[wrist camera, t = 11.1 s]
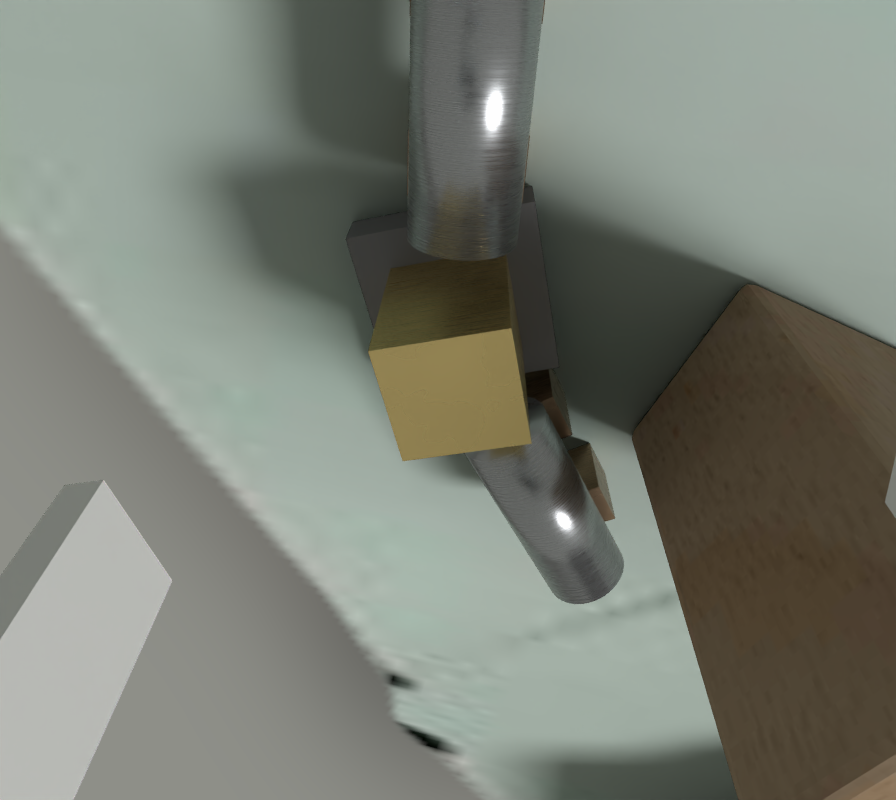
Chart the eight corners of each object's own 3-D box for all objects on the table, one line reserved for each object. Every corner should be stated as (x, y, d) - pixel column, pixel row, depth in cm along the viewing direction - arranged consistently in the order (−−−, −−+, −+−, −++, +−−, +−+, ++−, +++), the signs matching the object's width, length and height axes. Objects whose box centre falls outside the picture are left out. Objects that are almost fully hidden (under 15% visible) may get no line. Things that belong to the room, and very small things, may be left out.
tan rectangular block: (417, 365, 32) (402, 461, 26) (390, 268, 29) (368, 351, 24) (522, 349, 31) (531, 443, 26) (505, 248, 29) (511, 328, 23)
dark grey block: (352, 221, 30) (345, 238, 29) (532, 186, 29) (534, 201, 27) (398, 371, 35) (394, 393, 33) (555, 345, 33) (559, 367, 32)
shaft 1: (420, -100, 24) (398, -111, 17) (546, -94, 24) (569, -101, 17) (414, 187, 29) (396, 256, 23) (516, 193, 29) (525, 264, 23)
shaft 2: (460, 377, 35) (455, 474, 29) (540, 344, 33) (553, 438, 27) (537, 507, 40) (547, 614, 33) (609, 483, 38) (634, 589, 32)
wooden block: (626, 434, 36) (745, 850, 20) (744, 276, 31) (1039, 668, 15) (780, 494, 38) (1003, 918, 22) (915, 355, 33) (1346, 779, 17)
